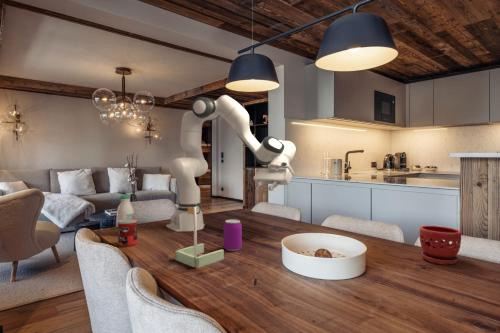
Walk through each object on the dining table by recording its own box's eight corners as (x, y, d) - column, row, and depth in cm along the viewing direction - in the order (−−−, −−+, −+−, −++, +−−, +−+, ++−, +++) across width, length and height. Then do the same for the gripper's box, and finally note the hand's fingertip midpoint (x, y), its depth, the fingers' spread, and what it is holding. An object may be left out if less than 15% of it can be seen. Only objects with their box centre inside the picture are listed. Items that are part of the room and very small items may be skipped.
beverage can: (243, 251, 127) (242, 222, 126) (224, 252, 125) (224, 223, 125) (240, 245, 134) (240, 218, 134) (223, 246, 133) (222, 219, 133)
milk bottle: (121, 237, 151) (120, 196, 150) (115, 234, 157) (114, 195, 156) (136, 234, 156) (135, 195, 155) (131, 231, 162) (130, 194, 161)
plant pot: (466, 268, 105) (466, 234, 105) (422, 264, 110) (423, 231, 109) (455, 256, 117) (455, 225, 117) (416, 253, 122) (416, 223, 121)
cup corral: (175, 259, 117) (174, 203, 116) (202, 251, 126) (201, 200, 126) (196, 268, 108) (195, 207, 107) (223, 259, 117) (223, 203, 116)
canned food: (115, 245, 137) (114, 220, 137) (132, 241, 143) (132, 218, 143) (123, 248, 132) (122, 223, 132) (140, 244, 138) (140, 220, 137)
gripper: (258, 163, 157) (245, 184, 150) (291, 163, 143) (278, 186, 136) (264, 171, 160) (252, 192, 153) (297, 173, 146) (284, 195, 139)
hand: (264, 189), depth 145 cm, fingers open, 5 cm apart
